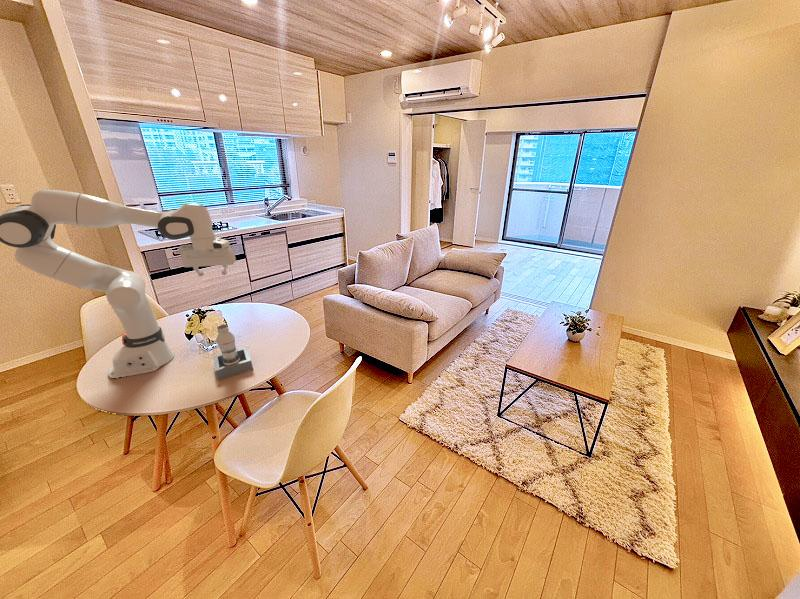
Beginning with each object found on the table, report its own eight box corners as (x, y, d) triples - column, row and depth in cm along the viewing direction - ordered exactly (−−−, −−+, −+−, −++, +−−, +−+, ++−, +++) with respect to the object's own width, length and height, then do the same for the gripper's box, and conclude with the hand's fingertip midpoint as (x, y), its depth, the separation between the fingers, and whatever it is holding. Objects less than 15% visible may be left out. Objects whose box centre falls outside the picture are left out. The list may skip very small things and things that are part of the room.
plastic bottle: (236, 374, 129) (224, 331, 121) (221, 372, 130) (208, 330, 122) (246, 365, 135) (235, 323, 127) (231, 363, 136) (220, 322, 128)
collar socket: (218, 380, 126) (215, 370, 124) (215, 364, 135) (213, 356, 133) (253, 369, 132) (251, 360, 130) (248, 355, 141) (246, 346, 140)
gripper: (173, 247, 127) (183, 279, 133) (228, 244, 130) (235, 276, 136) (180, 243, 133) (190, 274, 139) (232, 240, 136) (239, 271, 142)
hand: (213, 275), depth 137 cm, fingers open, 8 cm apart
